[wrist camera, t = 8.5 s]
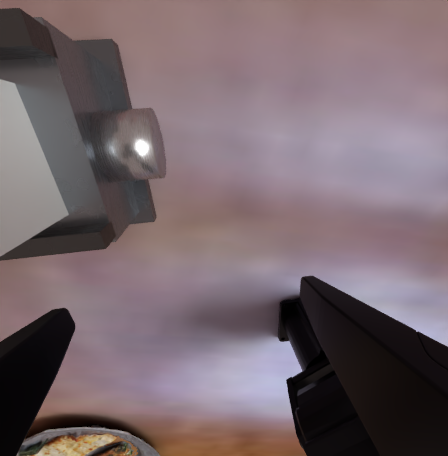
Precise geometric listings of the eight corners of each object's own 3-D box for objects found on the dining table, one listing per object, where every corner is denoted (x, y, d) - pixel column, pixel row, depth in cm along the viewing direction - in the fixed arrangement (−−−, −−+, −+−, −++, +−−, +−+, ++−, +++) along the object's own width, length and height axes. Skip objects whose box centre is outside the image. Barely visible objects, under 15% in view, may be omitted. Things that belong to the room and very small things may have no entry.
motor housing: (179, 214, 19) (167, 261, 12) (13, 232, 18) (-103, 293, 11) (149, 44, 14) (97, -48, 7) (-85, 55, 13) (-418, -38, 6)
